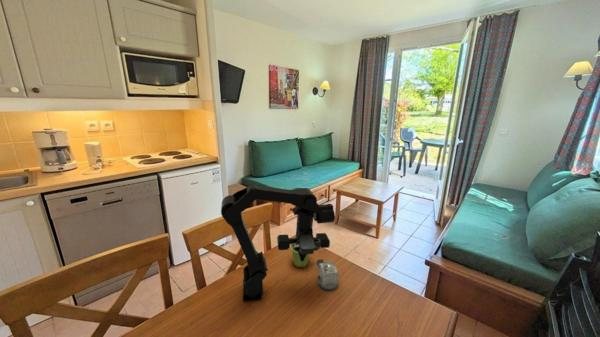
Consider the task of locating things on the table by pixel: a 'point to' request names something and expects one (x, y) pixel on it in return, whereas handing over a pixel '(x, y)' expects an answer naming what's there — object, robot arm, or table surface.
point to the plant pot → (298, 258)
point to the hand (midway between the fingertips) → (301, 260)
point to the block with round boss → (328, 273)
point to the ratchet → (327, 287)
